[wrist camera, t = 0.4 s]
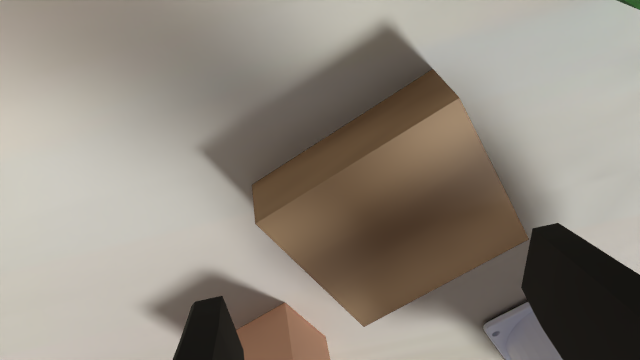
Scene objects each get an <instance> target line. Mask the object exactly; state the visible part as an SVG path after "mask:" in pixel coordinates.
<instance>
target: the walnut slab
mask: <svg viewBox="0 0 640 360" xmlns="http://www.w3.org/2000/svg"><path fill="white" fill-rule="evenodd" d="M252 191H253V202H254V214H255V224H256V225H257V226H258V227H259V228H260V229H261V230H263V231H264V232H265V233H266V234H267V235H268V236H269V237H270V238H271V239H272V240H273V241H274V242H275V243H276V244H277V245H278V246H279V247H280V248H281V249H282V250H284V251H285V252H286V253H287V254H288V255H289V256H290V257H291V258H292V259H293V260H294V261H295V262H296V263H297V264H298V265H299V266H300V267H301V268H302V269H304V270H305V271H306V272H307V273H308V274H309V275H310V276H311V277H312V278H313V279H314V280H315V281H316V282H317V283H318V284H319V285H320V286H321V287H322V288H323V289H325V290H326V291H327V292H328V293H329V294H330V295H331V296H332V297H333V298H334V299H335V300H336V301H337V302H338V303H339V304H340V305H341V306H342V307H343V308H345V309H346V310H347V311H348V312H349V313H350V314H351V315H352V316H353V317H354V318H355V319H356V320H357V321H358V322H359V323H360V324H361V325H362V326H363V327H365V326H366V325H368V324H370V323H372V322H374V321H376V320H378V319H380V318H382V317H383V316H385V315H387V314H389V313H391V312H393V311H395V310H397V309H399V308H400V307H402V306H404V305H406V304H408V303H410V302H412V301H414V300H415V299H417V298H419V297H421V296H423V295H425V294H427V293H429V292H431V291H432V290H434V289H436V288H438V287H440V286H442V285H444V284H446V283H447V282H449V281H451V280H453V279H455V278H457V277H459V276H461V275H463V274H464V273H466V272H468V271H470V270H472V269H474V268H476V267H478V266H479V265H481V264H483V263H485V262H487V261H489V260H491V259H493V258H495V257H496V256H498V255H500V254H502V253H504V252H506V251H508V250H510V249H512V248H513V247H515V246H517V245H519V244H521V243H523V242H525V241H527V240H528V239H529V238H528V236H527V234H526V232H525V230H524V228H523V226H522V224H521V222H520V220H519V218H518V216H517V214H516V212H515V210H514V208H513V206H512V204H511V202H510V200H509V198H508V196H507V194H506V192H505V190H504V188H503V186H502V184H501V181H500V179H499V177H498V175H497V173H496V171H495V169H494V167H493V165H492V163H491V161H490V159H489V157H488V155H487V153H486V151H485V149H484V147H483V145H482V143H481V141H480V139H479V137H478V135H477V133H476V131H475V129H474V127H473V125H472V123H471V120H470V118H469V116H468V114H467V112H466V110H465V108H464V106H463V104H462V102H461V100H460V98H459V97H458V96H457V95H456V94H455V92H454V91H453V90H452V89H451V88H450V87H449V86H448V85H447V84H446V83H445V82H444V80H443V79H442V78H441V77H440V76H439V75H438V74H437V73H436V72H435V71H434V70H433V69H432V70H431V71H429V72H428V73H426V74H424V75H423V76H421V77H420V78H418V79H417V80H415V81H413V82H412V83H410V84H409V85H407V86H406V87H404V88H403V89H401V90H399V91H398V92H396V93H395V94H393V95H392V96H390V97H388V98H387V99H385V100H384V101H382V102H381V103H379V104H378V105H376V106H374V107H373V108H371V109H370V110H368V111H367V112H365V113H363V114H362V115H360V116H359V117H357V118H356V119H354V120H353V121H351V122H349V123H348V124H346V125H345V126H343V127H342V128H340V129H338V130H337V131H335V132H334V133H332V134H331V135H329V136H328V137H326V138H324V139H323V140H321V141H320V142H318V143H317V144H315V145H313V146H312V147H310V148H309V149H307V150H306V151H304V152H303V153H301V154H299V155H298V156H296V157H295V158H293V159H292V160H290V161H288V162H287V163H285V164H284V165H282V166H281V167H279V168H278V169H276V170H274V171H273V172H271V173H270V174H268V175H267V176H265V177H263V178H262V179H260V180H259V181H257V182H256V183H254V184H253V185H252Z"/></svg>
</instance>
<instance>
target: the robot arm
mask: <svg viewBox="0 0 640 360" xmlns="http://www.w3.org/2000/svg"><path fill="white" fill-rule="evenodd" d="M521 288H522V290H523V292H524V294H525V296H526V298H527V300H528V302H526V303H524V304H522V305H520V306H518V307H516V308H514V309H512V310H510V311H508V312H506V313H504V314H502V315H500V316H499V317H497V318H495V319H493V320H491V321H489V322H487V323H486V324H485V325H484V327H483V329H484V331H485V333H486V334H487V336H488V337H489V338H490V340H491V341H492V342H493V344H494V345H495V346H496V348H497V349H498V350H499V352H500V353H501V355H502V356H503V357H504V359H505V360H640V275H639V274H638V273H636V272H634V271H633V270H631V269H630V268H628V267H626V266H625V265H623V264H622V263H620V262H618V261H617V260H615V259H614V258H612V257H611V256H609V255H607V254H606V253H604V252H603V251H601V250H600V249H598V248H597V247H595V246H593V245H592V244H590V243H589V242H587V241H586V240H584V239H583V238H581V237H579V236H578V235H576V234H575V233H573V232H572V231H570V230H568V229H567V228H565V227H564V226H562V225H560V224H559V223H556V224H551V225H547V226H542V227H538V228H533V229H532V235H531V240H530V245H529V250H528V255H527V261H526V266H525V271H524V276H523V282H522V287H521ZM173 360H244V350H243V347H242V345H241V342H240V339H239V337H238V334H237V332H236V329H235V327H234V324H233V322H232V319H231V317H230V314H229V312H228V309H227V307H226V304H225V302H224V299H223V296H220V297H215V298H210V299H206V300H201V301H197V302H195V303H194V304H193V305H192V306H191V310H190V313H189V316H188V319H187V322H186V325H185V328H184V331H183V333H182V336H181V339H180V342H179V344H178V347H177V350H176V352H175V355H174V358H173Z"/></svg>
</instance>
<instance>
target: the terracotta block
mask: <svg viewBox="0 0 640 360" xmlns="http://www.w3.org/2000/svg"><path fill="white" fill-rule="evenodd" d="M236 332H237V334H238V337H239V339H240V342H241V345H242V347H243V350H244V360H330V356H329V351H328V346H327V341H326V337H325V336H324V335H323V334H322V333H321V332H319V331H318V330H317V329H316V328H315V327H313V326H312V325H311V324H310V323H309V322H308V321H306V320H305V319H304V318H303V317H302V316H300V315H299V314H298V313H297V312H296V311H295V310H293V309H292V308H291V307H290V306H289V305H287V304H286V303H283V304H281V305H280V306H278V307H276V308H274V309H273V310H271V311H269V312H267V313H266V314H264V315H262V316H260V317H259V318H257V319H255V320H253V321H252V322H250V323H248V324H246V325H244V326H243V327H241V328H239V329H237V330H236Z"/></svg>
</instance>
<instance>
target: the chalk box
mask: <svg viewBox="0 0 640 360" xmlns="http://www.w3.org/2000/svg"><path fill="white" fill-rule="evenodd" d="M617 1H620V2H622V3H624V4H627V5H629V6H632V7H634V8H637V9H639V10H640V0H617Z"/></svg>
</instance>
